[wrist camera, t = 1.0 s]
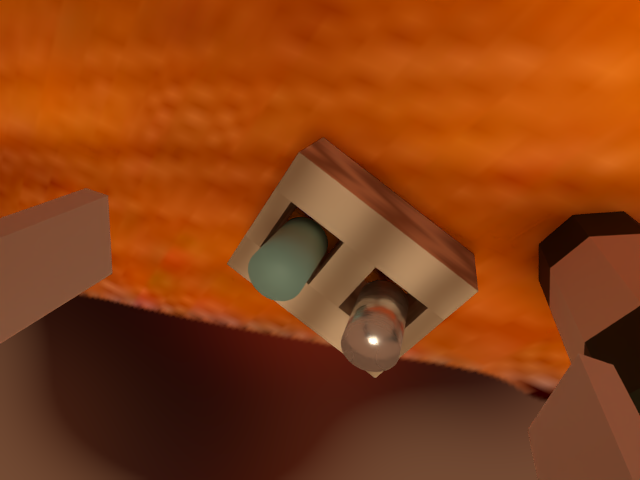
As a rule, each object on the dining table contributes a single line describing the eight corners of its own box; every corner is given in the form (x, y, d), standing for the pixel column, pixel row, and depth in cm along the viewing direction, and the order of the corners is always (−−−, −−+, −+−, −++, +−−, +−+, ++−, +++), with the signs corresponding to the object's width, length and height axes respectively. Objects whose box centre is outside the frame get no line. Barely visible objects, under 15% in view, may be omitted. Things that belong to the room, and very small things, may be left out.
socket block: (257, 236, 39) (226, 263, 34) (323, 137, 33) (299, 152, 28) (385, 335, 39) (375, 378, 34) (474, 254, 33) (478, 291, 28)
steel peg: (348, 302, 33) (329, 346, 28) (378, 270, 31) (363, 312, 26) (387, 331, 33) (375, 381, 28) (419, 302, 31) (412, 350, 26)
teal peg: (271, 242, 32) (238, 276, 27) (296, 207, 30) (265, 236, 25) (310, 272, 33) (284, 311, 27) (337, 238, 31) (314, 274, 26)
